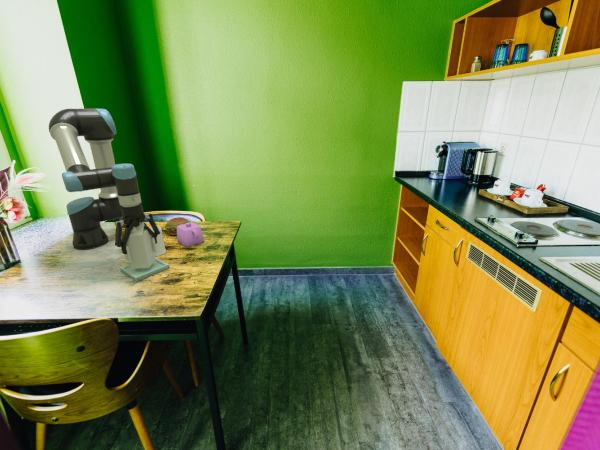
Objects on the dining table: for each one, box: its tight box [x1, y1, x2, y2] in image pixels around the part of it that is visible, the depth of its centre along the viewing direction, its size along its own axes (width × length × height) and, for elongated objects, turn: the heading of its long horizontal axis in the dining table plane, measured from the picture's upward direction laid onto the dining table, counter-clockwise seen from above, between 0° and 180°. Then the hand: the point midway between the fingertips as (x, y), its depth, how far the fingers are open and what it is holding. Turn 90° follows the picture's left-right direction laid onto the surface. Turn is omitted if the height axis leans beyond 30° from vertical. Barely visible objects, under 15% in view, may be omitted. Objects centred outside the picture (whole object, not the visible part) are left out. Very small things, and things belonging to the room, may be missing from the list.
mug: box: [148, 225, 167, 257], centre depth 141 cm, size 12×8×12 cm
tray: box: [119, 256, 171, 283], centre depth 128 cm, size 14×14×2 cm
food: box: [164, 216, 192, 236], centre depth 168 cm, size 14×14×8 cm
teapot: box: [176, 221, 204, 248], centre depth 155 cm, size 18×10×10 cm, turn 44°
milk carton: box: [126, 221, 156, 269], centre depth 125 cm, size 7×7×19 cm
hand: (142, 255), depth 126 cm, fingers closed on milk carton, 10 cm apart
